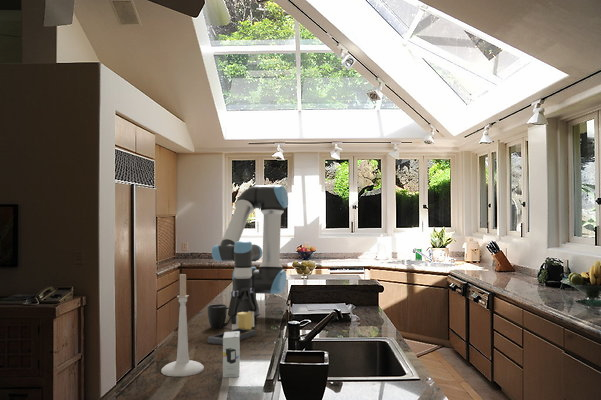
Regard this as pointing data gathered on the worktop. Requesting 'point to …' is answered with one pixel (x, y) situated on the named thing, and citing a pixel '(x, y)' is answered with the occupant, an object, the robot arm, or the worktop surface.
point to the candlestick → (182, 342)
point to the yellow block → (244, 320)
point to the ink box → (231, 354)
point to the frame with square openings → (243, 332)
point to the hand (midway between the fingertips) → (243, 329)
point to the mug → (217, 316)
